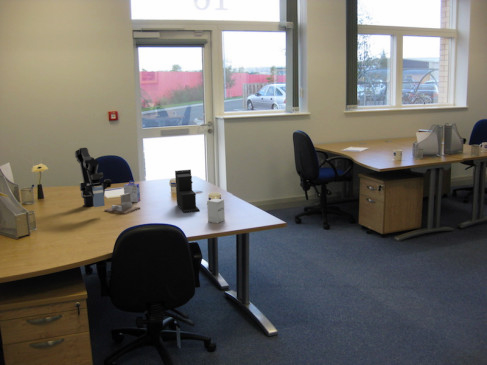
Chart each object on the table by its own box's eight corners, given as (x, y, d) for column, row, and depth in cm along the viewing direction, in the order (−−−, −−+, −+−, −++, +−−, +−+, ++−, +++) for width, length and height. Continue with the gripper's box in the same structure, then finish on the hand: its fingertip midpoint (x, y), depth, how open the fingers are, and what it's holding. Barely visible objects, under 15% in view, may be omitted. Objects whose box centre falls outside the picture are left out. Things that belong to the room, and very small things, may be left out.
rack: (104, 211, 302) (102, 194, 300) (119, 206, 314) (118, 190, 312) (125, 214, 294) (123, 197, 291) (140, 208, 306) (138, 192, 303)
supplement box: (218, 223, 267) (217, 202, 265) (207, 221, 271) (206, 200, 269) (225, 220, 274) (224, 199, 271) (214, 218, 277) (214, 198, 275)
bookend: (200, 211, 295) (198, 175, 290) (183, 213, 291) (181, 176, 287) (192, 203, 317) (190, 169, 312) (176, 204, 313) (174, 170, 308)
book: (93, 206, 290) (92, 187, 288) (103, 204, 293) (101, 186, 291) (94, 207, 288) (93, 188, 285) (104, 205, 291) (103, 187, 288)
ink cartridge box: (140, 200, 329) (139, 180, 326) (138, 202, 323) (136, 181, 321) (127, 200, 330) (125, 180, 327) (124, 202, 325) (122, 182, 322)
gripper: (78, 170, 284) (84, 191, 277) (109, 166, 293) (115, 187, 286) (77, 180, 293) (82, 201, 286) (107, 176, 302) (113, 196, 295)
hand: (98, 196), depth 288 cm, fingers closed on book, 6 cm apart
